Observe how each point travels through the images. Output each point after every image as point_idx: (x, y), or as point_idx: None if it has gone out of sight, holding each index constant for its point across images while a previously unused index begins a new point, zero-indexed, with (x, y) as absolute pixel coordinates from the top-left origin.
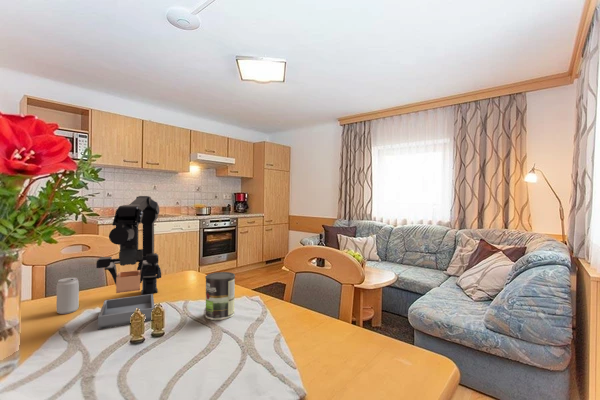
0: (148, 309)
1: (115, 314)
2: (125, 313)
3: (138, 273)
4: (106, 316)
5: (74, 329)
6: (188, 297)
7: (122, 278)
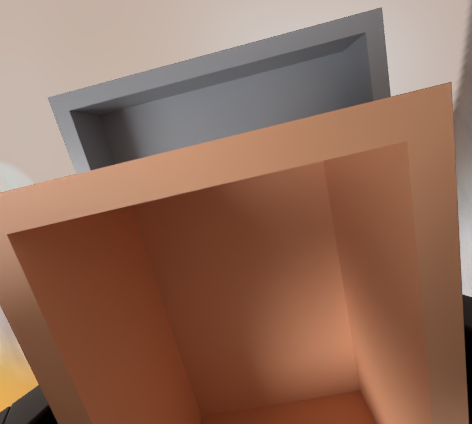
0: (84, 88)
1: (277, 36)
2: (218, 52)
3: (85, 417)
4: (328, 22)
5: (469, 79)
6: (21, 394)
7: (305, 118)
